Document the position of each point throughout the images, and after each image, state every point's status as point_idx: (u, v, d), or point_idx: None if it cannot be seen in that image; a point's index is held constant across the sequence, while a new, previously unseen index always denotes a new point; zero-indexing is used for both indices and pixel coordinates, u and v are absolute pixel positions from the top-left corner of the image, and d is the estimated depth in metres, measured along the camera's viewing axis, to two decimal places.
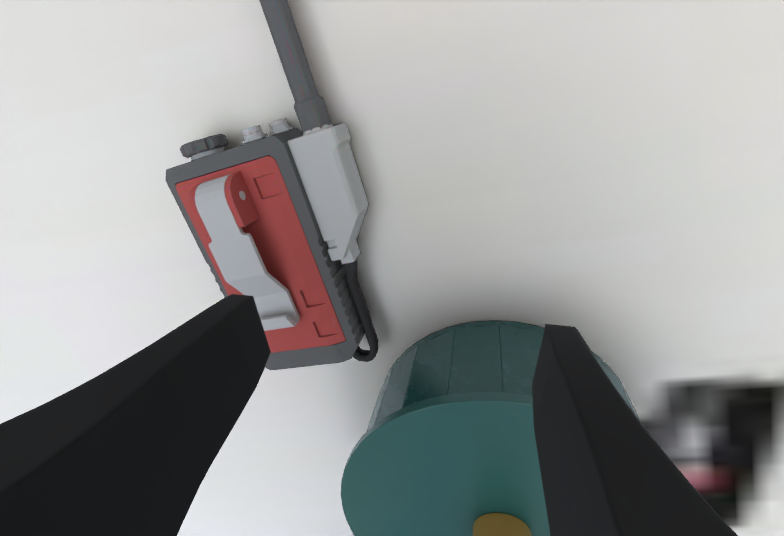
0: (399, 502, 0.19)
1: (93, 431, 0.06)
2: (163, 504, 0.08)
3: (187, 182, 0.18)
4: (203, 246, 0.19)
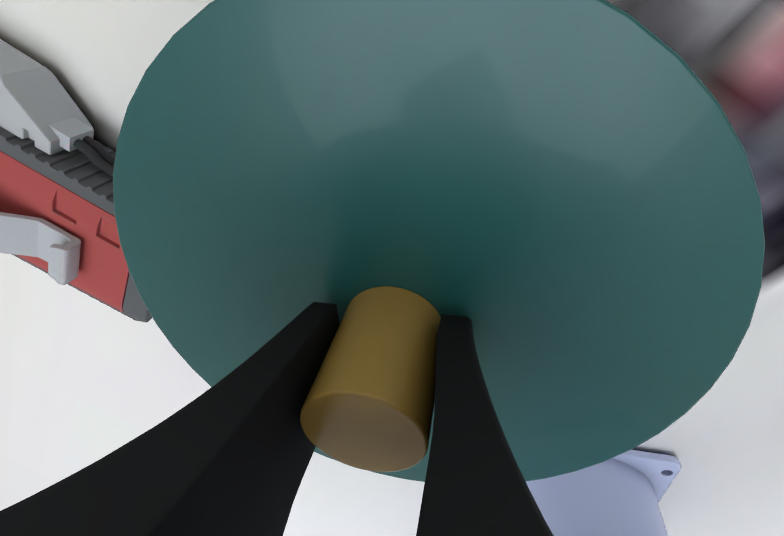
0: None
1: (221, 455, 0.06)
2: (267, 527, 0.07)
3: None
4: None
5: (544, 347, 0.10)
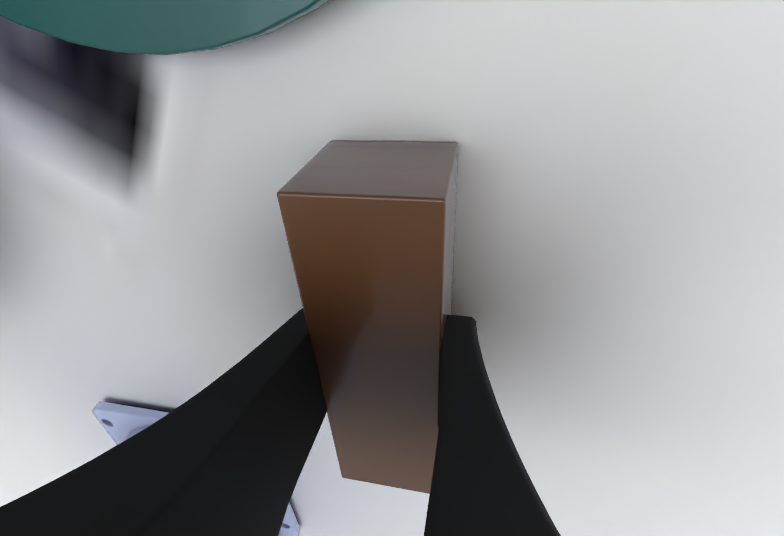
0: None
1: (216, 454, 0.06)
2: (263, 526, 0.07)
3: None
4: None
5: None
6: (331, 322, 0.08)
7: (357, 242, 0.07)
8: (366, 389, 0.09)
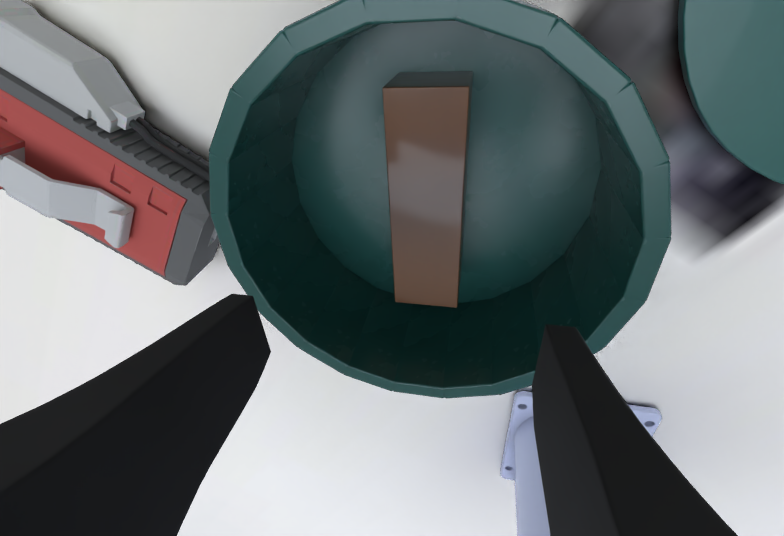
0: None
1: (93, 432, 0.06)
2: (163, 505, 0.08)
3: None
4: None
5: None
6: (402, 170, 0.14)
7: (422, 115, 0.13)
8: (418, 220, 0.15)
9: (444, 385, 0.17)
